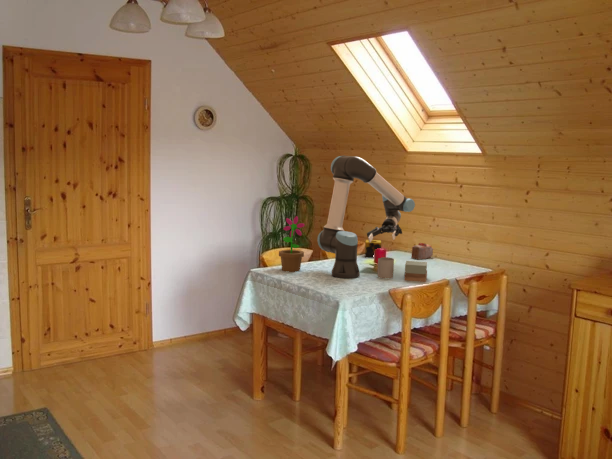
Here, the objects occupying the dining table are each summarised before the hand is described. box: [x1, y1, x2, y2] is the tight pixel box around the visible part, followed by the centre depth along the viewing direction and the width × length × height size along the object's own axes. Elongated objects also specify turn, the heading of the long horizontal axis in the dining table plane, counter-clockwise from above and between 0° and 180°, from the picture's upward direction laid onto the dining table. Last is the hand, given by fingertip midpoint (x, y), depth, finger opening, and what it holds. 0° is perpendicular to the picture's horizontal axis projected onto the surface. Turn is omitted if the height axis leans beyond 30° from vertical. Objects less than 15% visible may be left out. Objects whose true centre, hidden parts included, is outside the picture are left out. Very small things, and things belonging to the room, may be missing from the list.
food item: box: [410, 242, 434, 261], centre depth 400 cm, size 14×8×10 cm, turn 131°
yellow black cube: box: [364, 239, 382, 258], centre depth 402 cm, size 10×10×10 cm
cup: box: [377, 256, 395, 279], centre depth 342 cm, size 8×8×10 cm
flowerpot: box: [278, 215, 305, 273], centre depth 352 cm, size 14×14×30 cm
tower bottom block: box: [404, 270, 428, 283], centre depth 339 cm, size 11×11×4 cm
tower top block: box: [404, 260, 428, 274], centre depth 338 cm, size 11×11×4 cm
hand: (381, 238), depth 348 cm, fingers open, 13 cm apart
